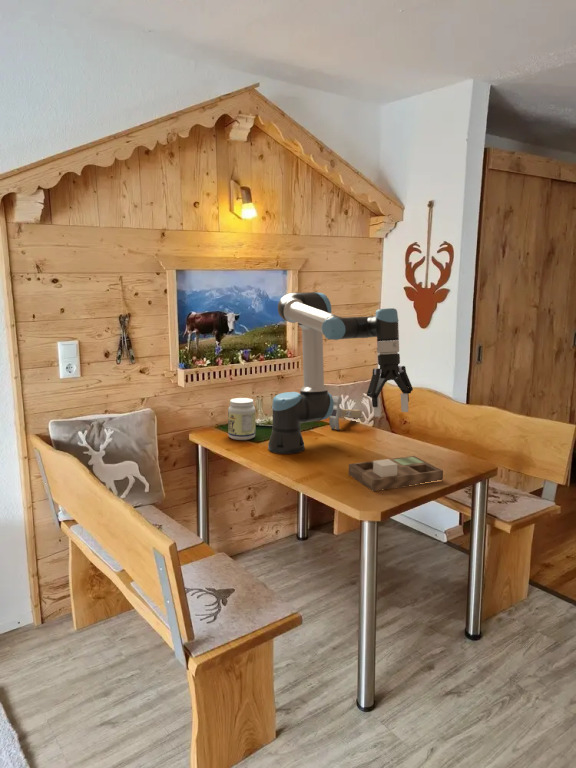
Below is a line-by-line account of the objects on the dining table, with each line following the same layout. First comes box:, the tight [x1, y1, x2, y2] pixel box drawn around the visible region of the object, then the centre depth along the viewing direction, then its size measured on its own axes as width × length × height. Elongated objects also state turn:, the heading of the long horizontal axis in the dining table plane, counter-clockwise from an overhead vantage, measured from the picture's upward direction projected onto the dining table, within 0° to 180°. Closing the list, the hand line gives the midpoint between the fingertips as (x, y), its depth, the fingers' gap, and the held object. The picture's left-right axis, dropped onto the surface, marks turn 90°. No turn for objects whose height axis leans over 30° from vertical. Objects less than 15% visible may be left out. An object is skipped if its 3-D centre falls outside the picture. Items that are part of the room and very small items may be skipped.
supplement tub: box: [227, 397, 256, 441], centre depth 255 cm, size 12×12×17 cm
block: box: [372, 458, 398, 477], centre depth 197 cm, size 6×6×4 cm
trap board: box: [348, 455, 444, 492], centre depth 205 cm, size 28×18×4 cm, turn 112°
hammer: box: [328, 395, 363, 431], centre depth 279 cm, size 16×5×30 cm
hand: (391, 414), depth 199 cm, fingers open, 13 cm apart
